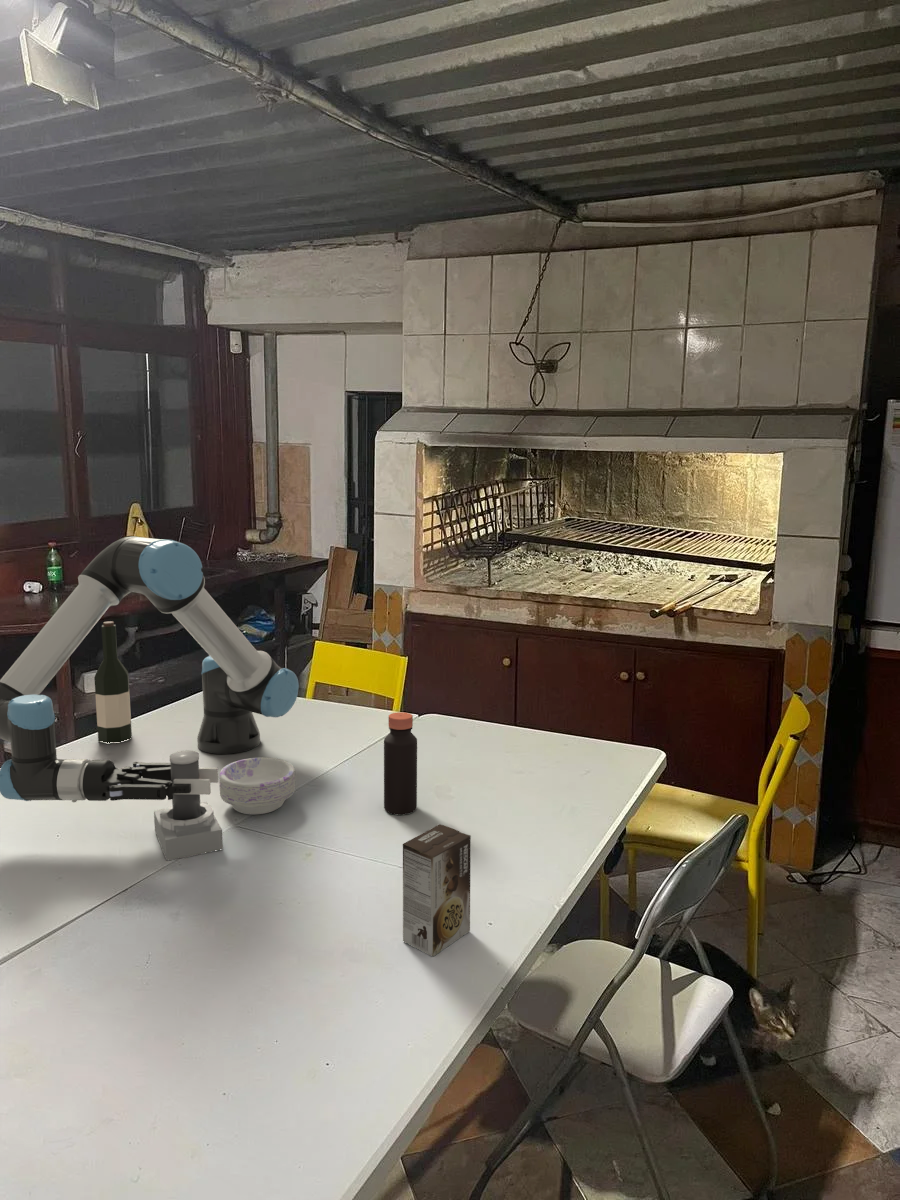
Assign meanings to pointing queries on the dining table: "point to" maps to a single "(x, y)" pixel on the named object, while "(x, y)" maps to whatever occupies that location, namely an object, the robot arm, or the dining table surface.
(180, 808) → the grey capped canister
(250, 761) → the paper bowls
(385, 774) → the vinegar
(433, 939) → the coffee box
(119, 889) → the dining table surface
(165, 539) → the robot arm
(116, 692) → the wine bottle
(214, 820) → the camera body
